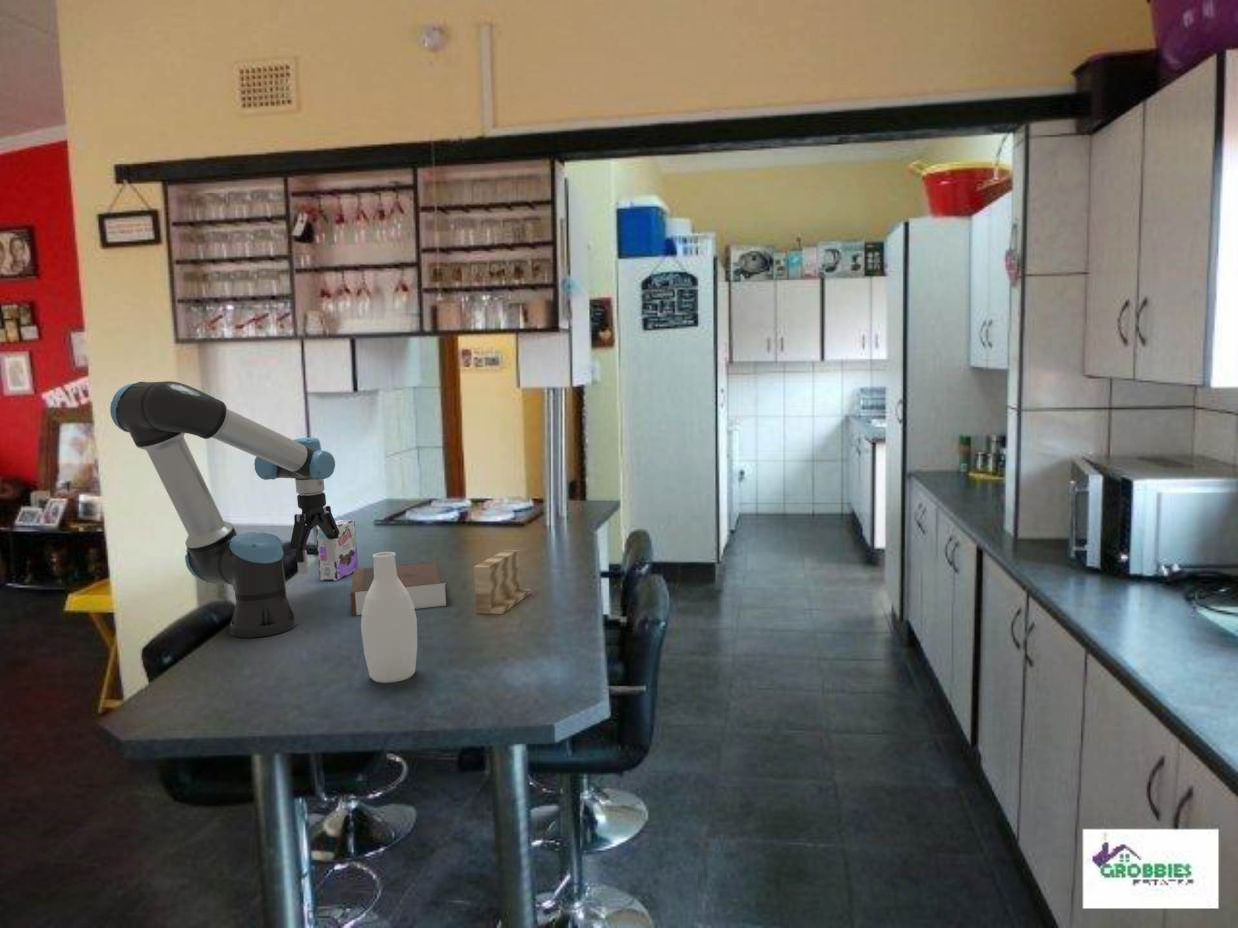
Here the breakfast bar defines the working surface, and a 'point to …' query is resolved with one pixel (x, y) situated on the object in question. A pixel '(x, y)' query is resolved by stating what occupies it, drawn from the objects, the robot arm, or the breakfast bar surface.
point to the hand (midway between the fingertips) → (318, 567)
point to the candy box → (338, 552)
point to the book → (405, 585)
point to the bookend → (498, 583)
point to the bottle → (388, 624)
